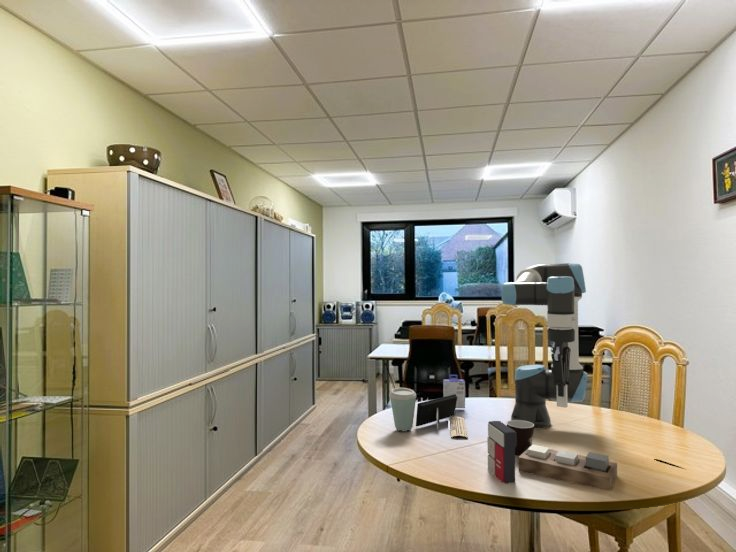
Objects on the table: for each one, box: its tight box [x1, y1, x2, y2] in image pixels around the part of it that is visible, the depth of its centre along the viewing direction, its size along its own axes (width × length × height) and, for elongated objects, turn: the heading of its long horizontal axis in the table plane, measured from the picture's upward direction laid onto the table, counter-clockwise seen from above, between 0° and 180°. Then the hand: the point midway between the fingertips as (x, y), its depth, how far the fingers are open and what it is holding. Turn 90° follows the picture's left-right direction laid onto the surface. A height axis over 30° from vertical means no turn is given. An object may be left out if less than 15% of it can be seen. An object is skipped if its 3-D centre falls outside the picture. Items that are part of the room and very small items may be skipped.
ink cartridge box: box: [442, 374, 466, 409], centre depth 205 cm, size 10×6×14 cm, turn 83°
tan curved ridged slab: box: [449, 416, 469, 439], centre depth 175 cm, size 24×7×2 cm, turn 171°
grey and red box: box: [486, 420, 517, 484], centre depth 130 cm, size 11×4×15 cm, turn 9°
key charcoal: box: [585, 451, 610, 473], centre depth 125 cm, size 5×5×5 cm
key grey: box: [555, 449, 579, 466], centre depth 130 cm, size 5×5×5 cm
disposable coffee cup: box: [388, 387, 417, 432], centre depth 175 cm, size 11×11×15 cm
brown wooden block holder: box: [518, 444, 618, 492], centre depth 130 cm, size 24×12×5 cm, turn 53°
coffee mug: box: [506, 419, 535, 457], centre depth 149 cm, size 12×9×10 cm
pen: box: [653, 458, 687, 471], centre depth 135 cm, size 2×14×2 cm, turn 25°
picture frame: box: [415, 394, 457, 430], centre depth 184 cm, size 22×10×10 cm
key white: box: [527, 444, 550, 459], centre depth 135 cm, size 5×5×5 cm
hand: (562, 406), depth 135 cm, fingers closed
